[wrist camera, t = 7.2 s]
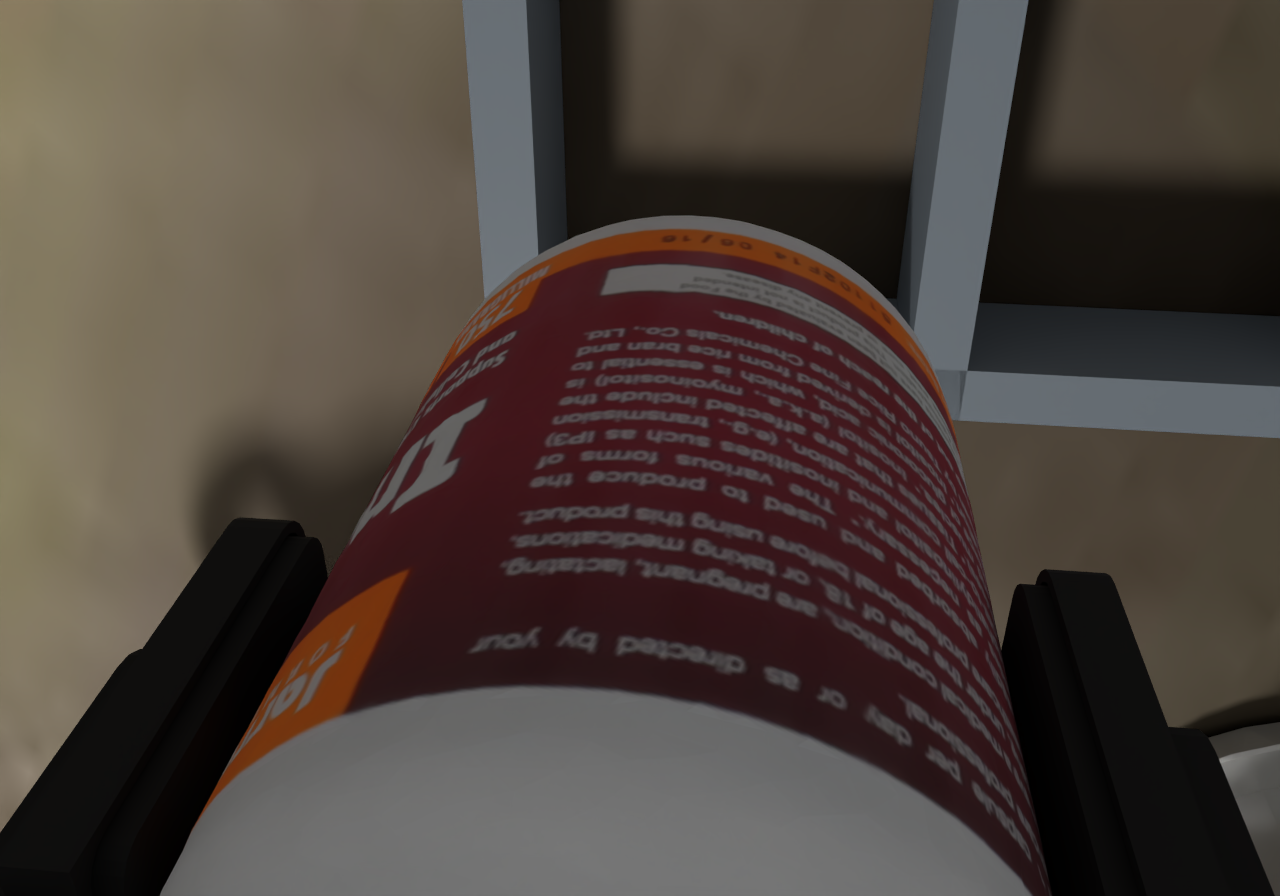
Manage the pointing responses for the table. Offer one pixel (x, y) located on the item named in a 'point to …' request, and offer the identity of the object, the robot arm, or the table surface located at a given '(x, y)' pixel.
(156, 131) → the table surface
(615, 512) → the pill bottle
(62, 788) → the robot arm
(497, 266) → the compartment rack
